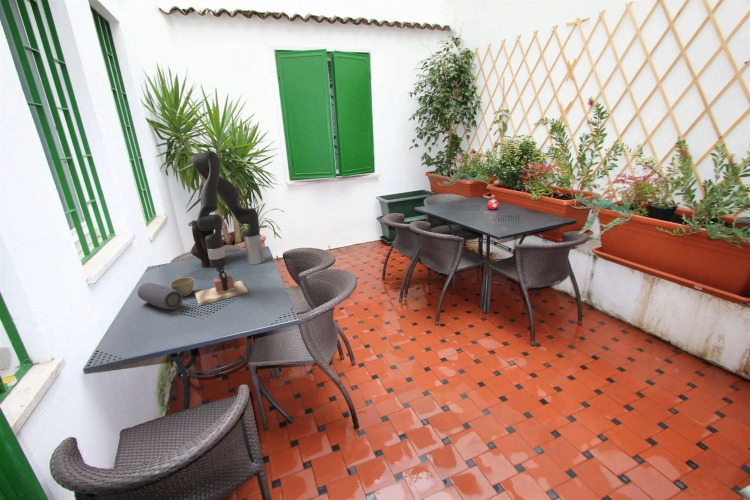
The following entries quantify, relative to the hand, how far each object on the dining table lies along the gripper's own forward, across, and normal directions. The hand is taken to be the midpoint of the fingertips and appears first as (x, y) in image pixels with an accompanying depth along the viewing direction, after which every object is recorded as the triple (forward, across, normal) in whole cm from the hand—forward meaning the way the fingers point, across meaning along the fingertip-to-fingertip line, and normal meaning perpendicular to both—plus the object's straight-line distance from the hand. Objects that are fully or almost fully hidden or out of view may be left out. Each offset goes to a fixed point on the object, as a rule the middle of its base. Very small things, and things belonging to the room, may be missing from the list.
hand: (224, 288), depth 167 cm
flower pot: (+3, +12, +17) cm, 21 cm away
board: (+2, 0, +2) cm, 3 cm away
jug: (+2, +51, -1) cm, 51 cm away
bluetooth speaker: (+3, +6, +27) cm, 27 cm away
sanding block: (+1, 0, 0) cm, 1 cm away
